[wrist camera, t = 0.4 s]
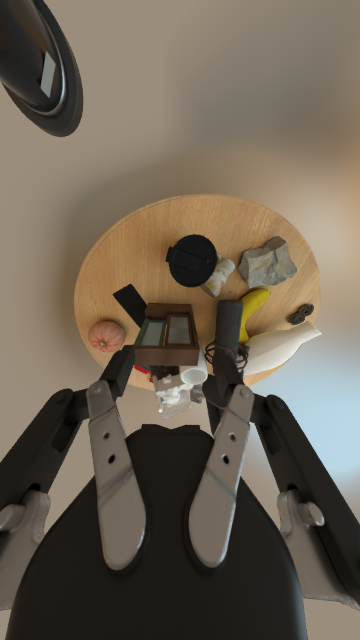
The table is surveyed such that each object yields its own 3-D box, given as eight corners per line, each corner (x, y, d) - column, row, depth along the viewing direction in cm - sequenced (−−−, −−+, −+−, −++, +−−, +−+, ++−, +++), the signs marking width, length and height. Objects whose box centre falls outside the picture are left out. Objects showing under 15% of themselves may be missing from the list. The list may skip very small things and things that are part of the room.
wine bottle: (210, 383, 62) (232, 483, 36) (201, 379, 60) (217, 481, 35) (218, 377, 59) (248, 480, 34) (209, 373, 58) (233, 477, 32)
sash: (146, 323, 37) (131, 358, 26) (145, 318, 36) (130, 351, 25) (166, 324, 37) (161, 358, 26) (166, 318, 36) (160, 352, 25)
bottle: (226, 367, 43) (315, 325, 29) (225, 345, 52) (292, 305, 38) (248, 385, 45) (342, 354, 30) (243, 360, 54) (314, 328, 40)
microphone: (207, 372, 51) (211, 297, 43) (244, 382, 46) (257, 298, 38) (196, 400, 39) (199, 303, 31) (245, 419, 33) (264, 306, 25)
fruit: (277, 291, 34) (251, 346, 44) (264, 286, 38) (243, 338, 48) (245, 291, 32) (226, 348, 43) (235, 285, 36) (219, 339, 46)
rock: (145, 354, 50) (143, 378, 42) (173, 346, 50) (176, 368, 42) (154, 368, 56) (154, 391, 48) (178, 361, 56) (182, 383, 48)
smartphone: (112, 294, 39) (142, 329, 45) (110, 295, 38) (141, 330, 45) (131, 282, 37) (159, 320, 44) (130, 283, 36) (159, 322, 43)
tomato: (130, 342, 48) (122, 358, 41) (101, 340, 48) (88, 357, 41) (125, 317, 42) (115, 331, 35) (92, 315, 42) (75, 329, 35)
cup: (202, 349, 50) (210, 383, 38) (181, 352, 51) (182, 387, 39) (199, 332, 46) (207, 365, 33) (176, 336, 46) (176, 369, 34)
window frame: (149, 315, 42) (129, 365, 25) (148, 303, 40) (125, 348, 23) (190, 316, 42) (197, 366, 25) (191, 304, 40) (200, 350, 23)
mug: (238, 267, 35) (240, 294, 30) (207, 281, 41) (204, 305, 36) (227, 244, 30) (227, 271, 25) (193, 263, 36) (188, 289, 31)
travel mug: (177, 233, 30) (175, 222, 13) (202, 244, 32) (229, 246, 14) (169, 260, 33) (159, 279, 16) (192, 269, 35) (206, 295, 18)
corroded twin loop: (315, 306, 41) (318, 307, 40) (295, 325, 44) (297, 327, 44) (304, 300, 40) (307, 302, 39) (284, 321, 43) (287, 322, 42)
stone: (287, 270, 35) (302, 274, 31) (246, 292, 38) (253, 298, 34) (280, 227, 30) (296, 224, 26) (232, 256, 33) (240, 258, 29)
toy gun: (128, 371, 54) (141, 360, 50) (129, 368, 56) (142, 357, 52) (155, 384, 60) (169, 375, 56) (156, 381, 61) (169, 372, 57)
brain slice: (170, 360, 56) (167, 365, 53) (208, 373, 48) (206, 379, 46) (175, 387, 65) (173, 392, 63) (208, 401, 58) (206, 407, 56)
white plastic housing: (198, 405, 42) (189, 389, 49) (197, 375, 39) (187, 362, 46) (159, 421, 38) (156, 400, 45) (155, 388, 35) (151, 372, 42)
